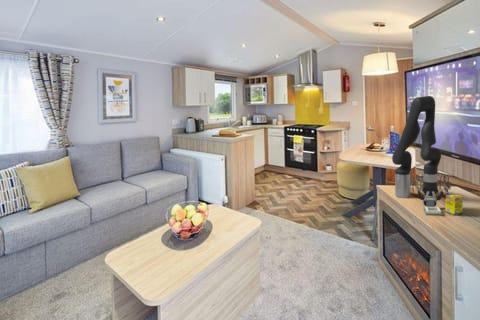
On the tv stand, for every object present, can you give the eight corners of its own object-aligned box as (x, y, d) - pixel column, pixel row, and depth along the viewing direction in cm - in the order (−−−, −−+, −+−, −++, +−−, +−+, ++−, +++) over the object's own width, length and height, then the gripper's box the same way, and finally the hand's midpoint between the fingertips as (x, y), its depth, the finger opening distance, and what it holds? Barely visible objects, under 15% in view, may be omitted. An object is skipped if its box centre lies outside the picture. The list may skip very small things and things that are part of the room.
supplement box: (454, 215, 157) (455, 198, 155) (444, 212, 163) (445, 195, 161) (462, 213, 158) (463, 196, 156) (452, 210, 164) (453, 193, 162)
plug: (425, 206, 173) (425, 196, 172) (432, 207, 171) (433, 196, 170) (426, 209, 170) (426, 198, 168) (434, 209, 168) (434, 198, 166)
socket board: (423, 209, 170) (423, 205, 169) (439, 210, 166) (439, 206, 165) (425, 215, 162) (426, 211, 162) (443, 216, 158) (443, 212, 158)
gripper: (442, 178, 167) (442, 204, 170) (415, 178, 173) (415, 203, 177) (445, 182, 160) (444, 208, 164) (417, 181, 167) (417, 207, 170)
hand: (429, 205), depth 170 cm, fingers closed on plug, 4 cm apart
